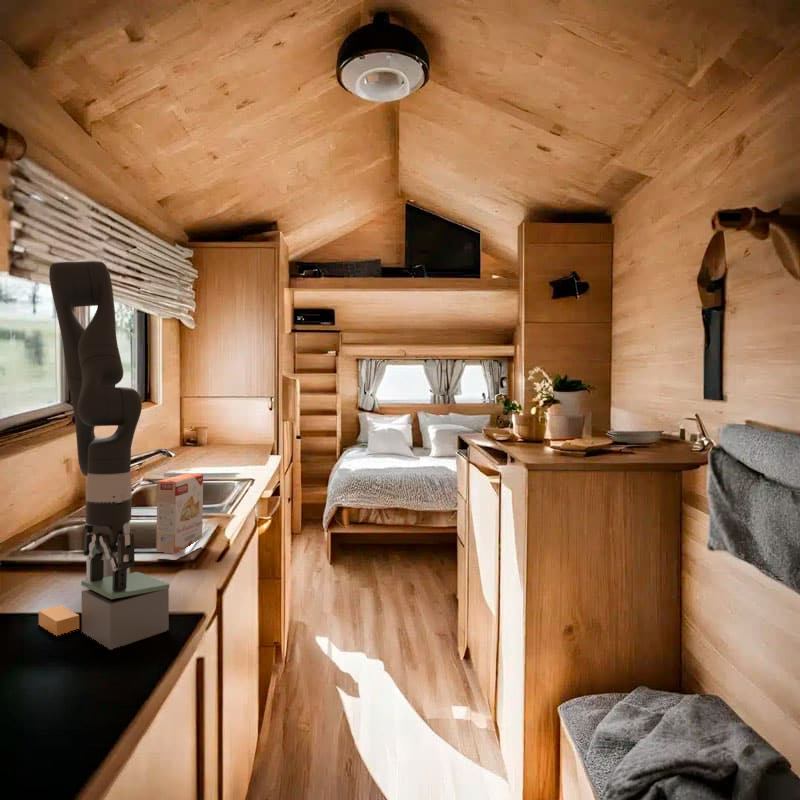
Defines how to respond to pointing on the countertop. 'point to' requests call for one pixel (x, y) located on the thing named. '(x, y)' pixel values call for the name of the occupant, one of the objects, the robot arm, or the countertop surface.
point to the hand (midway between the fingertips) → (107, 585)
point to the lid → (134, 586)
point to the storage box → (124, 617)
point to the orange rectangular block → (58, 620)
